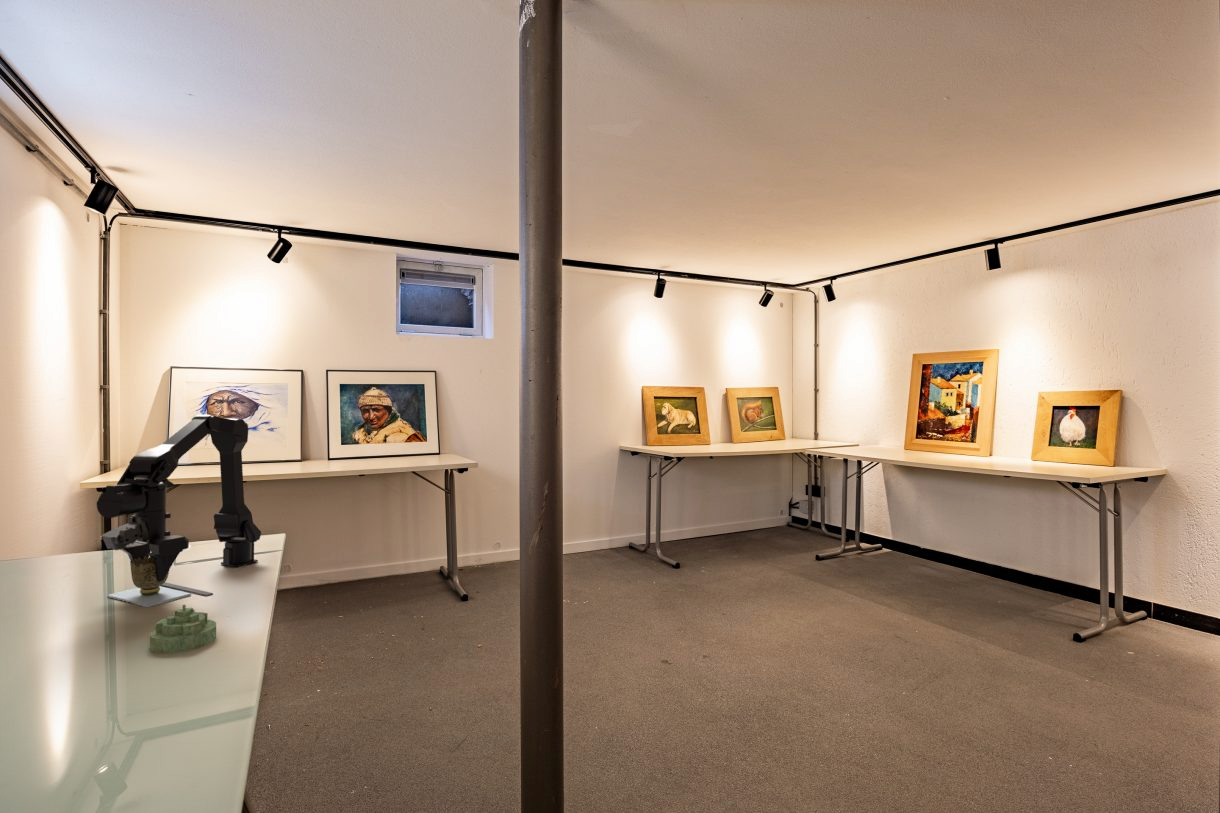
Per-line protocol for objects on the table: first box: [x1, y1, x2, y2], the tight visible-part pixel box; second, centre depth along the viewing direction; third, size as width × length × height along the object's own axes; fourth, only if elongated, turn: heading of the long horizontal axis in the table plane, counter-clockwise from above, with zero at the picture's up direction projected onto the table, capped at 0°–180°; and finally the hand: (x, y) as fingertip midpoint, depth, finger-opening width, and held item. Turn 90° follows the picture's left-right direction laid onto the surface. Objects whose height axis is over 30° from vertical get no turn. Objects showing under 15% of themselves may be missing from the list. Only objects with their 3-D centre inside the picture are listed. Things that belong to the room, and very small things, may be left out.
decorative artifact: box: [149, 604, 217, 654], centre depth 111 cm, size 10×7×10 cm
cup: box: [129, 556, 170, 596], centre depth 136 cm, size 8×7×8 cm
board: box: [106, 586, 192, 608], centre depth 136 cm, size 9×15×1 cm, turn 66°
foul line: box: [161, 581, 214, 597], centre depth 142 cm, size 2×22×1 cm, turn 66°
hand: (149, 578), depth 136 cm, fingers open, 7 cm apart
